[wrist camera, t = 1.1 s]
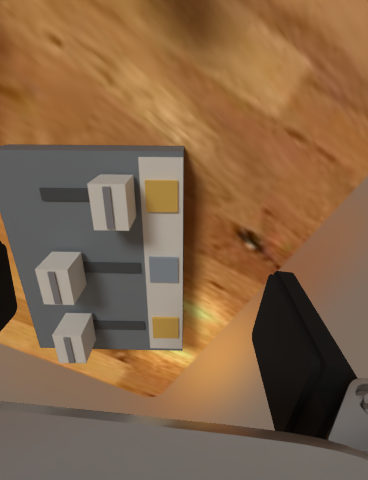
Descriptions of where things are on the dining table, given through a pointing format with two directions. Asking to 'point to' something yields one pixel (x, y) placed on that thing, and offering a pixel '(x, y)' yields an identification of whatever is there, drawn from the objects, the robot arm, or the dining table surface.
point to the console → (100, 239)
